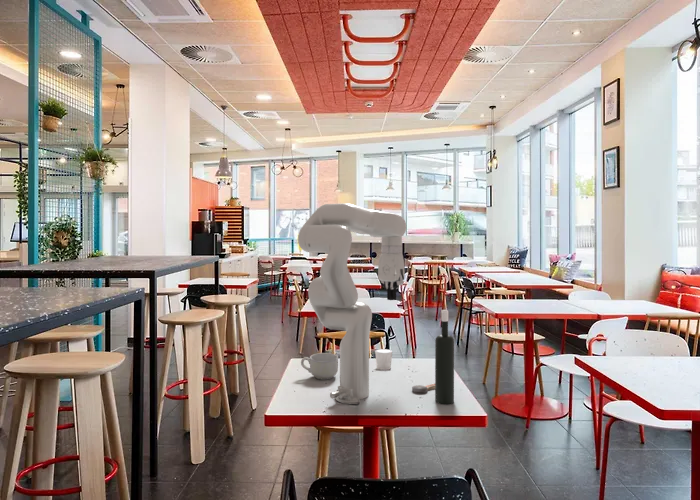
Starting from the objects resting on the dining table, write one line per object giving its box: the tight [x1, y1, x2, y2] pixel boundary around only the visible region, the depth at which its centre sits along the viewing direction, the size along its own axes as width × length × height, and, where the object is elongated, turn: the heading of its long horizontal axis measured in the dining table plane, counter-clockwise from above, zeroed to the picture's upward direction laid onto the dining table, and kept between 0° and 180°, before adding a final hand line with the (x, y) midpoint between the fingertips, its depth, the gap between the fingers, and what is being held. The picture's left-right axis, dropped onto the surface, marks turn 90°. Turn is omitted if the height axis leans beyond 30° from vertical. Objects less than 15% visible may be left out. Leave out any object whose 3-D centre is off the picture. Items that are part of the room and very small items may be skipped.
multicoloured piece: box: [411, 383, 435, 395], centre depth 171 cm, size 13×5×4 cm, turn 126°
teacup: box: [300, 352, 339, 381], centre depth 190 cm, size 14×11×8 cm
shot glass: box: [374, 348, 393, 371], centre depth 203 cm, size 7×7×7 cm
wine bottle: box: [434, 309, 455, 406], centre depth 158 cm, size 6×6×30 cm
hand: (391, 299), depth 189 cm, fingers closed
